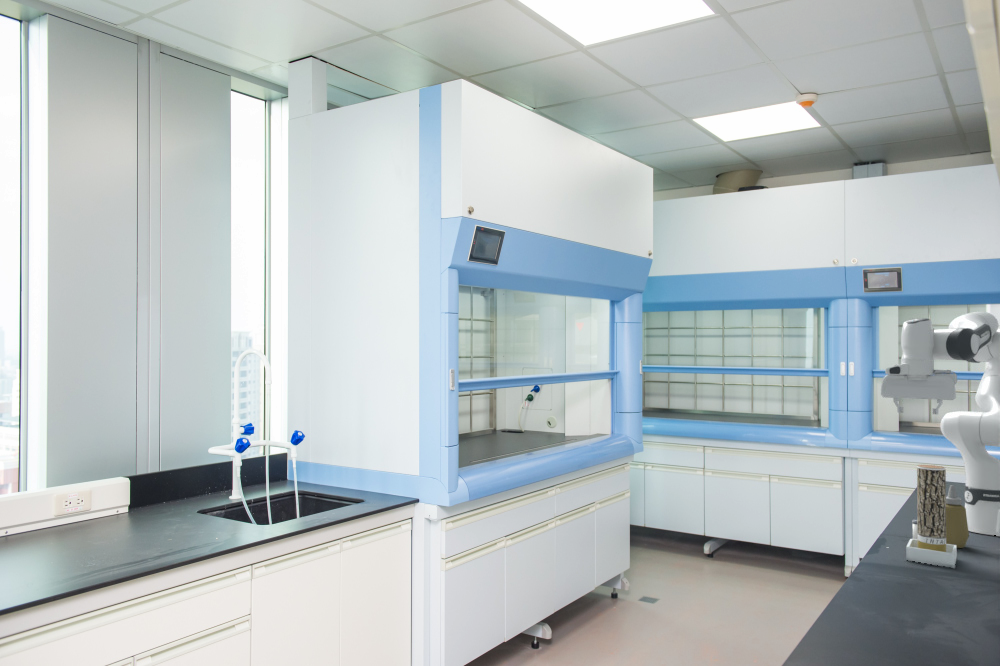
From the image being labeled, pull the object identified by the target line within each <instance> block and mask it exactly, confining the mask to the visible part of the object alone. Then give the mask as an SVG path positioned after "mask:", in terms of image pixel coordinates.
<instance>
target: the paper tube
mask: <svg viewBox="0 0 1000 666" xmlns="http://www.w3.org/2000/svg"><path fill="white" fill-rule="evenodd" d="M916 466H917V467H916V486H917V487H916V490H917V491H916V494H917V497H916V499H917V501H916V502H917V504H916V505H917V506H916V507H917V508H916V509H917V512H916V513H917V517H916V518H917V519H916V520H917V530H918V548H921V549H927V550H934V551H941V552H946V497H947V493H946V491H947V487H946V486H947V480H946V477H947V476H946V475H947V473H946V467H945V466H942V465H935V464H934V465H933V464H917V465H916Z"/></svg>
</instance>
